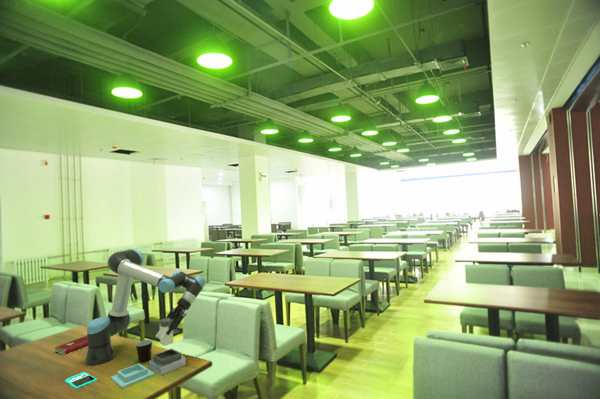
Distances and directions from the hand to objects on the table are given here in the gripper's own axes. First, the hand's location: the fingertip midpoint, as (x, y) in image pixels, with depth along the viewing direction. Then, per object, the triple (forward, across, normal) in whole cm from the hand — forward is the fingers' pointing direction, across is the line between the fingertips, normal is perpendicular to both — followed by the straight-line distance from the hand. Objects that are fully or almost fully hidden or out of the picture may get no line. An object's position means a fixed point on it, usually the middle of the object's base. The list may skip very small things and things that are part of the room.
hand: (159, 338), depth 185 cm
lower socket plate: (+21, +4, -2) cm, 22 cm away
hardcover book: (+27, +80, +1) cm, 84 cm away
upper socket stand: (+9, 0, -14) cm, 17 cm away
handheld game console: (+35, +24, +10) cm, 44 cm away
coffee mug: (+11, +20, -12) cm, 26 cm away
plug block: (0, 0, -5) cm, 5 cm away
